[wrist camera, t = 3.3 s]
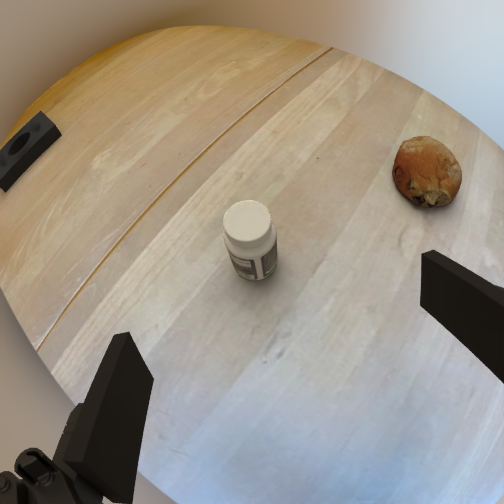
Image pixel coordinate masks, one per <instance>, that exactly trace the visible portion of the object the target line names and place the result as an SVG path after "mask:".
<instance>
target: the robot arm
mask: <svg viewBox="0 0 504 504" xmlns="http://www.w3.org/2000/svg"><path fill="white" fill-rule="evenodd" d="M420 306H421V307H422V308H424V309H425V310H426V311H427V312H428V313H429V314H430V315H432V316H433V317H434V318H435V319H436V320H437V321H438V322H439V323H441V324H442V325H443V326H444V327H445V328H446V329H447V330H448V331H449V332H451V333H452V334H453V335H454V336H455V337H456V338H457V339H458V340H459V341H460V342H461V343H462V344H464V345H465V346H466V347H467V348H468V349H469V350H470V351H471V352H472V353H473V354H474V355H475V356H476V357H477V358H478V359H479V360H480V361H481V362H482V363H483V364H484V365H485V366H487V367H488V368H489V369H490V370H491V371H492V372H493V373H494V374H495V375H496V376H497V377H498V378H499V379H500V380H501V381H502V382H503V383H504V288H502V287H499V286H496V285H493V284H492V283H490V282H488V281H487V280H485V279H483V278H482V277H480V276H479V275H477V274H475V273H474V272H472V271H470V270H469V269H467V268H465V267H463V266H462V265H460V264H458V263H457V262H455V261H453V260H451V259H450V258H448V257H446V256H444V255H442V254H441V253H439V252H437V251H435V250H431V251H428V252H425V253H422V254H421V296H420ZM153 381H154V378H153V376H152V375H151V373H150V371H149V369H148V367H147V366H146V364H145V362H144V360H143V358H142V356H141V354H140V352H139V350H138V348H137V346H136V344H135V343H134V341H133V339H132V336H131V334H130V332H125V333H120V334H115V335H114V336H113V338H112V340H111V342H110V344H109V346H108V349H107V351H106V353H105V355H104V357H103V359H102V362H101V364H100V366H99V368H98V371H97V373H96V375H95V377H94V380H93V382H92V384H91V387H90V389H89V391H88V394H87V396H86V399H85V401H84V403H79V404H78V405H77V406H76V407H75V408H74V410H73V411H72V412H71V413H70V416H69V418H68V421H67V426H65V428H64V431H63V433H64V434H62V436H61V438H60V441H59V443H58V446H57V449H56V452H55V454H54V457H53V460H52V461H51V460H50V459H49V458H48V457H47V456H46V455H45V454H44V453H43V452H42V451H41V450H39V449H38V448H29V449H26V450H24V451H23V452H22V453H21V454H20V455H19V456H18V458H17V459H16V462H15V465H14V468H15V472H16V473H17V474H18V475H19V476H20V477H22V478H23V479H18V477H16V476H15V475H14V474H13V473H11V472H9V471H4V472H2V473H0V504H103V503H102V500H103V496H105V497H106V498H107V499H109V500H110V501H111V502H113V503H122V504H132V502H133V494H134V486H135V480H136V473H137V467H138V461H139V455H140V449H141V443H142V437H143V432H144V426H145V421H146V415H147V410H148V405H149V400H150V395H151V391H152V386H153Z"/></svg>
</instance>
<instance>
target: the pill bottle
mask: <svg viewBox="0 0 504 504" xmlns="http://www.w3.org/2000/svg"><path fill="white" fill-rule="evenodd" d="M223 226H224V242H225V245H226V248H227V250H228V253H229V255H230V258H231V260H232V263H233V266H234V268H235V270H236V271H237V273H238V274H239V275H240V276H242V277H243V278H245V279H248V280H261V279H264V278H266V277H267V276H269V275H270V274H271V273H272V272H273V271H274V269H275V267H276V264H277V233H276V228H275V225H274V223H273V221H272V220H271V215H270V212H269V210H268V209H267V208H266V207H265V206H264V205H263V204H261V203H260V202H257V201H253V200H243V201H239V202H237V203H235V204H233V205H232V206H231V207H230V208H229V209H228V210H227V211H226V213H225V215H224V219H223Z"/></svg>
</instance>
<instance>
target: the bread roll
mask: <svg viewBox="0 0 504 504" xmlns="http://www.w3.org/2000/svg"><path fill="white" fill-rule="evenodd" d="M392 174H393V178H394V180H395V183H396V185H397V187H398V188H399V190H400V191H401V192H402V193H403V194H404V195H405V196H407V197H408V198H409V199H411V200H412V201H413V202H414V203H417V205H420V206H423V207H434V206H442V205H445V204H447V203H450V202H451V201H452V200H453V198H454V197H455V196H456V194H457V193H458V191H459V189H460V185H461V181H462V171H461V168H460V166H459V163H458V161H457V160H456V158H455V157H454V155H453V154H452V152H451V151H450V150H449V149H448V148H447V147H446V146H445V145H444V144H442V143H441V142H439V141H438V140H435V139H433V138H432V137H428V136H418V137H413V138H411V139H409V140H405V141H404V142H403V143H402V144H401V146H400V148H399V150H398V153H397V155H396V158H395V161H394V166H393V171H392Z"/></svg>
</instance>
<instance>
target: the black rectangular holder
mask: <svg viewBox="0 0 504 504" xmlns="http://www.w3.org/2000/svg"><path fill="white" fill-rule="evenodd" d="M61 135H62V134H61V133H60V131H59V130H58V128H57V127H56V125H55V124H54V123H53V122H52V121H51V120H50V119H49V118H48V117H47V116H46V115H45V114H44V113H43V112H42V111H40V112H39V113H38V114H36V115H35V116H34V117H33V118H32V119H31V120H30V121H29V122H28V123H27V124H26V125H25V126H23V127H22V128H21V129H20V130H19V131H18V132H17V133H16V134H15V135H14V136H13V137H12V138H11V139H10V140H9V141H8V142H7V143H6V145H5V146H4V147H3V148H2V149H1V150H0V187H1V188H2V189H3V190H4V191H5V192H6V191H7V190H8V189H9V187H10V186H11V185H12V184H13V183H14V182H15V181H16V180H17V179H18V177H19V176H20V175H21V174H22V173H23V172H24V171H25V170H26V169H27V168H28V167H29V166H30V165H31V164H32V163H33V162H34V161H35V160H36V159H37V158H38V157H39V156H40V155H41V154H42V153H43V152H44V151H45V150H46V149H47V148H48V147H49V146H50V145H51V144H52V143H53V142H54V141H55V140H56V139H58V138H59V137H60V136H61Z"/></svg>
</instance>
